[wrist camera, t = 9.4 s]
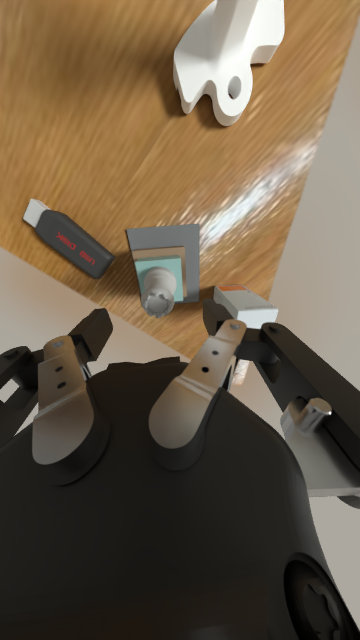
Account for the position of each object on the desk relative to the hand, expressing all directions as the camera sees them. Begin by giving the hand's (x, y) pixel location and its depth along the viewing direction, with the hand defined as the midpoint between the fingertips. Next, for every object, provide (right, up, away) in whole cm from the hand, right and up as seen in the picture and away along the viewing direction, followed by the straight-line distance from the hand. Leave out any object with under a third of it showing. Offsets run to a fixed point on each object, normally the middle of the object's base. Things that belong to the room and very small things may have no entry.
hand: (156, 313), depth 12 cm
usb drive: (-16, +13, +13) cm, 24 cm away
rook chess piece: (-1, +5, +8) cm, 10 cm away
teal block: (-1, +7, +12) cm, 13 cm away
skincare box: (+12, +5, +19) cm, 23 cm away
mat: (0, +9, +15) cm, 18 cm away
